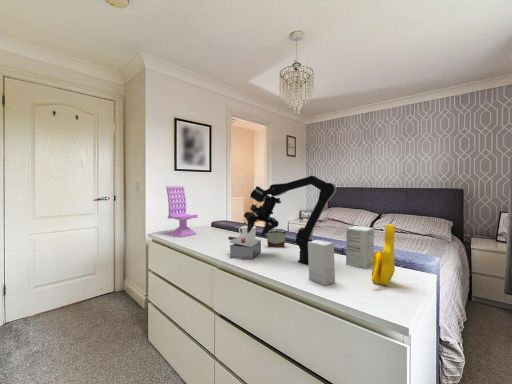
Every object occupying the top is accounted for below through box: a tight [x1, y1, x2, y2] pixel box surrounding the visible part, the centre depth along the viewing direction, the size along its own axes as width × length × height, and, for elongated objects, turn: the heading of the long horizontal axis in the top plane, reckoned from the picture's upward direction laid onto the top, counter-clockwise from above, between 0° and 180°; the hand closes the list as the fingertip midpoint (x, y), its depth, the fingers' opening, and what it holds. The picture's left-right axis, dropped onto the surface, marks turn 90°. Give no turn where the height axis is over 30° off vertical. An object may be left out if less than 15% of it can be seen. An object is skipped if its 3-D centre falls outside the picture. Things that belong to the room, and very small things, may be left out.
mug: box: [238, 225, 257, 239], centre depth 156 cm, size 11×9×10 cm
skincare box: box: [308, 239, 336, 286], centre depth 96 cm, size 8×6×15 cm
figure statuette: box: [371, 223, 396, 287], centre depth 93 cm, size 18×8×22 cm, turn 145°
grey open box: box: [229, 242, 262, 261], centre depth 129 cm, size 12×12×6 cm
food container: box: [266, 228, 288, 249], centre depth 149 cm, size 12×6×10 cm, turn 84°
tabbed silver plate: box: [227, 235, 262, 247], centre depth 130 cm, size 15×12×2 cm
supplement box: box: [345, 225, 375, 270], centre depth 115 cm, size 10×9×17 cm
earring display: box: [165, 185, 199, 238], centre depth 183 cm, size 15×17×35 cm
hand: (254, 233), depth 129 cm, fingers open, 9 cm apart
